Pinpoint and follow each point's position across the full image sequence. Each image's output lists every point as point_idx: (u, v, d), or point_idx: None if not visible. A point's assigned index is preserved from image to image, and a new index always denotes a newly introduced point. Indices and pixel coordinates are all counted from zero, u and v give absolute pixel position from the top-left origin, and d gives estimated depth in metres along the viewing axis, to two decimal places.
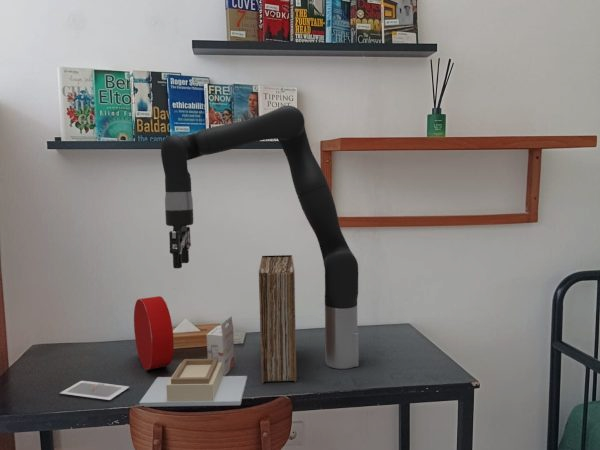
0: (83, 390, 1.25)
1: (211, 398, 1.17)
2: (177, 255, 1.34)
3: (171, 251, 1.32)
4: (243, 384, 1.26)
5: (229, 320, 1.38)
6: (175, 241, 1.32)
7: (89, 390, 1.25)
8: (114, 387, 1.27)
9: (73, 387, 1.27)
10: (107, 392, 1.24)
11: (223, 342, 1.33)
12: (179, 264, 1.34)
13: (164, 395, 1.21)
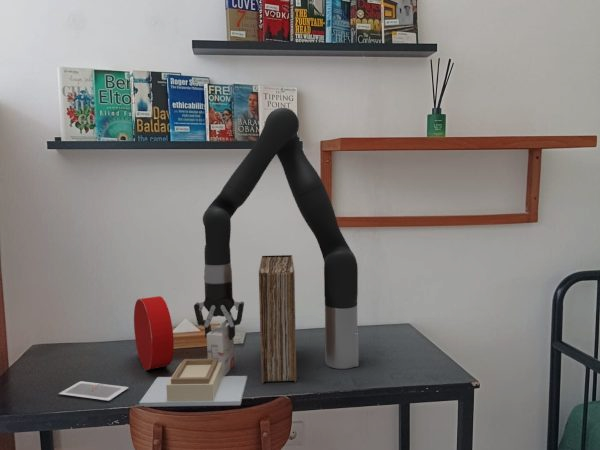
0: (82, 391, 1.25)
1: (211, 398, 1.17)
2: (234, 326, 1.37)
3: (240, 322, 1.36)
4: (243, 384, 1.26)
5: None
6: (242, 312, 1.37)
7: (88, 390, 1.25)
8: (113, 388, 1.26)
9: (72, 388, 1.26)
10: (106, 393, 1.23)
11: (223, 342, 1.33)
12: None
13: (164, 395, 1.21)
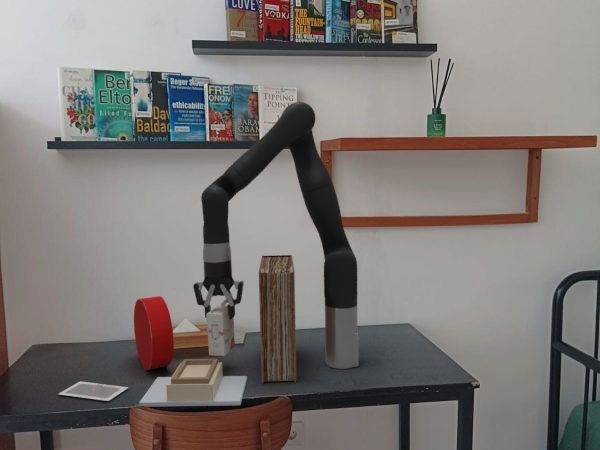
0: (82, 391, 1.24)
1: (211, 398, 1.17)
2: None
3: (240, 301, 1.35)
4: (243, 384, 1.26)
5: None
6: (242, 291, 1.36)
7: (88, 391, 1.25)
8: (113, 388, 1.26)
9: (71, 388, 1.26)
10: (106, 393, 1.23)
11: (223, 321, 1.33)
12: None
13: (164, 395, 1.21)
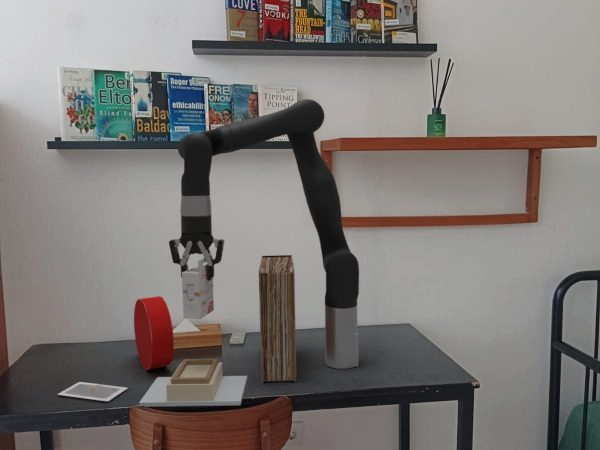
0: (81, 392, 1.24)
1: (211, 398, 1.17)
2: None
3: (219, 261, 1.24)
4: (243, 384, 1.26)
5: None
6: (222, 250, 1.25)
7: (87, 391, 1.25)
8: (112, 388, 1.26)
9: (71, 389, 1.26)
10: (105, 393, 1.23)
11: (200, 281, 1.21)
12: None
13: (164, 395, 1.21)
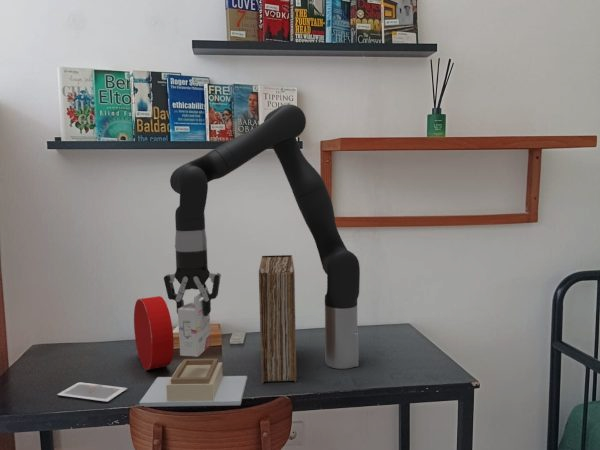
0: (81, 392, 1.24)
1: (211, 398, 1.17)
2: (209, 300, 1.23)
3: (216, 296, 1.21)
4: (243, 384, 1.26)
5: None
6: (218, 284, 1.22)
7: (87, 391, 1.24)
8: (112, 389, 1.26)
9: (70, 389, 1.26)
10: (105, 394, 1.23)
11: (196, 318, 1.18)
12: None
13: (164, 395, 1.21)
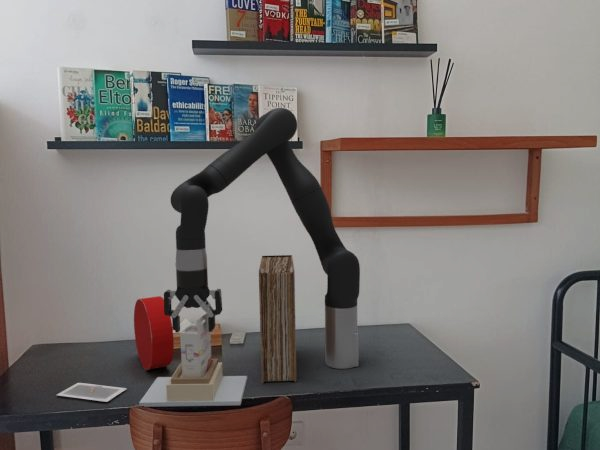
0: (80, 392, 1.24)
1: (211, 398, 1.17)
2: None
3: (220, 311, 1.22)
4: (243, 384, 1.26)
5: (206, 316, 1.24)
6: (221, 300, 1.22)
7: (86, 392, 1.24)
8: (112, 389, 1.26)
9: (70, 389, 1.26)
10: (104, 394, 1.23)
11: (199, 341, 1.19)
12: None
13: (164, 395, 1.21)
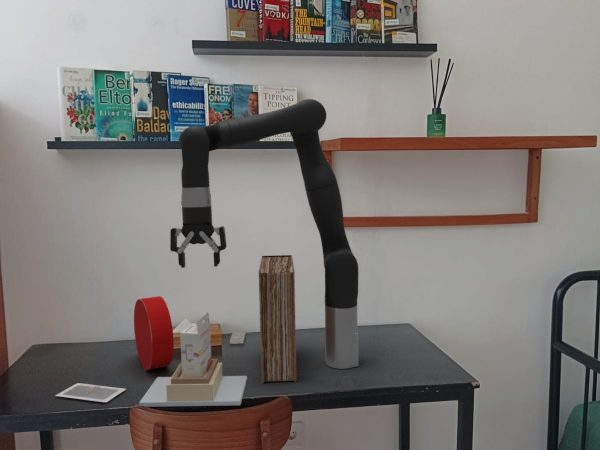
0: (79, 393, 1.24)
1: (211, 398, 1.17)
2: None
3: None
4: (243, 384, 1.26)
5: (205, 317, 1.24)
6: (225, 236, 1.29)
7: (85, 392, 1.24)
8: (111, 389, 1.25)
9: (69, 390, 1.25)
10: (103, 394, 1.22)
11: (199, 341, 1.19)
12: None
13: (164, 395, 1.21)
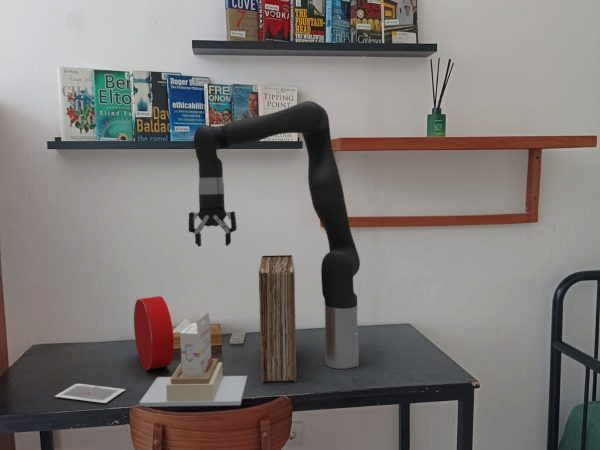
0: (78, 393, 1.23)
1: (211, 398, 1.17)
2: (230, 233, 1.51)
3: (235, 229, 1.50)
4: (243, 384, 1.26)
5: (205, 317, 1.24)
6: (235, 220, 1.51)
7: (85, 393, 1.24)
8: (110, 390, 1.25)
9: (68, 390, 1.25)
10: (103, 395, 1.22)
11: (199, 341, 1.19)
12: None
13: (164, 395, 1.21)
